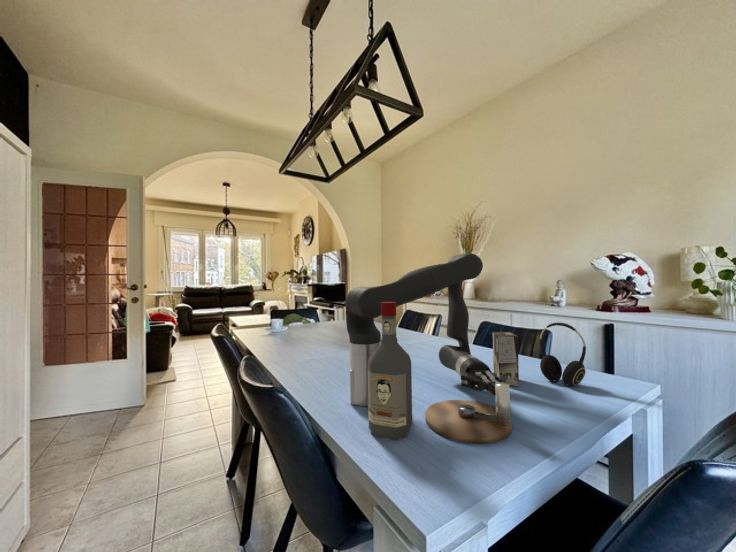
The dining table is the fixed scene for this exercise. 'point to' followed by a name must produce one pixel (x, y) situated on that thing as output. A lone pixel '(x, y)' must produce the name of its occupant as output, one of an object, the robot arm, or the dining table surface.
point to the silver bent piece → (501, 407)
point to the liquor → (389, 382)
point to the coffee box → (506, 356)
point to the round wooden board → (465, 423)
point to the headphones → (553, 367)
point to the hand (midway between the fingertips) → (499, 392)
